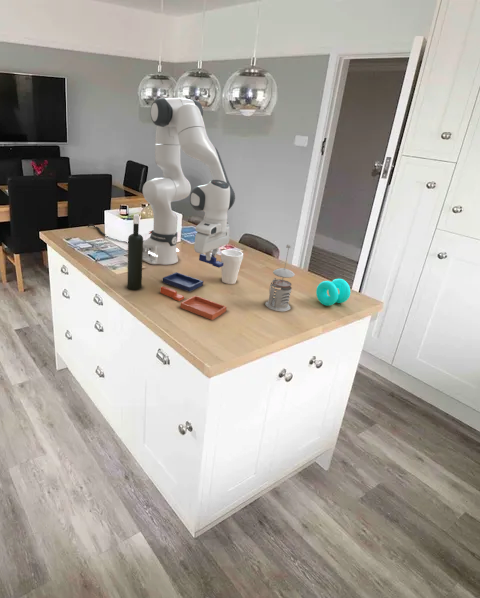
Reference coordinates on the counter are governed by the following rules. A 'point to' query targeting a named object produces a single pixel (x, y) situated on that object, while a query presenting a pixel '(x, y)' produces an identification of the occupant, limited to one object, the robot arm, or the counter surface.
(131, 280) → the wine bottle
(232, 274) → the foam cup
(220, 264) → the blue stepped block
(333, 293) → the donuts
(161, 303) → the counter surface
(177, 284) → the navy tray
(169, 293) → the orange red stepped block
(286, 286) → the french press
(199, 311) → the terracotta tray
